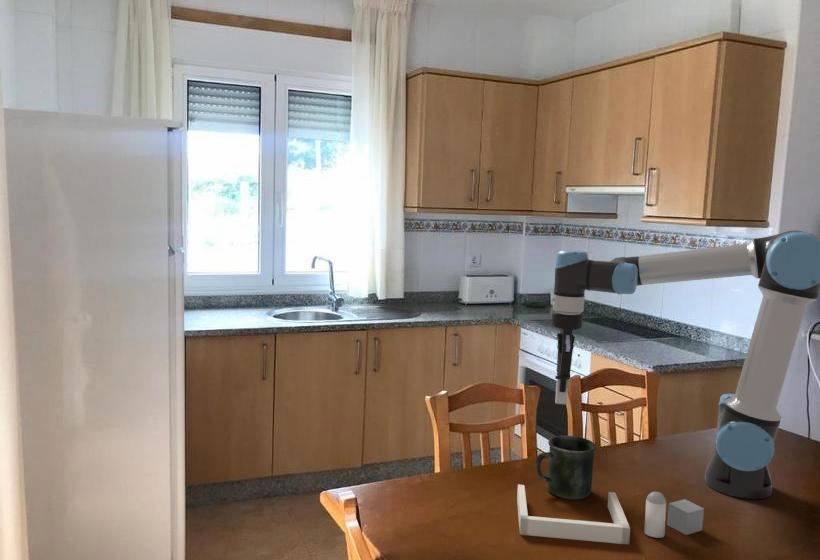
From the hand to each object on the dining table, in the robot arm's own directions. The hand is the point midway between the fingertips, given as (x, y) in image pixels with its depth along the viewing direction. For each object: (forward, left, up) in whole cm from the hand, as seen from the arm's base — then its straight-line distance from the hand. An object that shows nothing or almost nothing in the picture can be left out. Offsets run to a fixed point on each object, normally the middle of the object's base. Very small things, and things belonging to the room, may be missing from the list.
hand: (560, 403), depth 173 cm
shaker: (-17, +31, -18) cm, 39 cm away
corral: (0, +28, -18) cm, 33 cm away
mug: (0, +13, -18) cm, 22 cm away
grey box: (-25, +26, -18) cm, 40 cm away
